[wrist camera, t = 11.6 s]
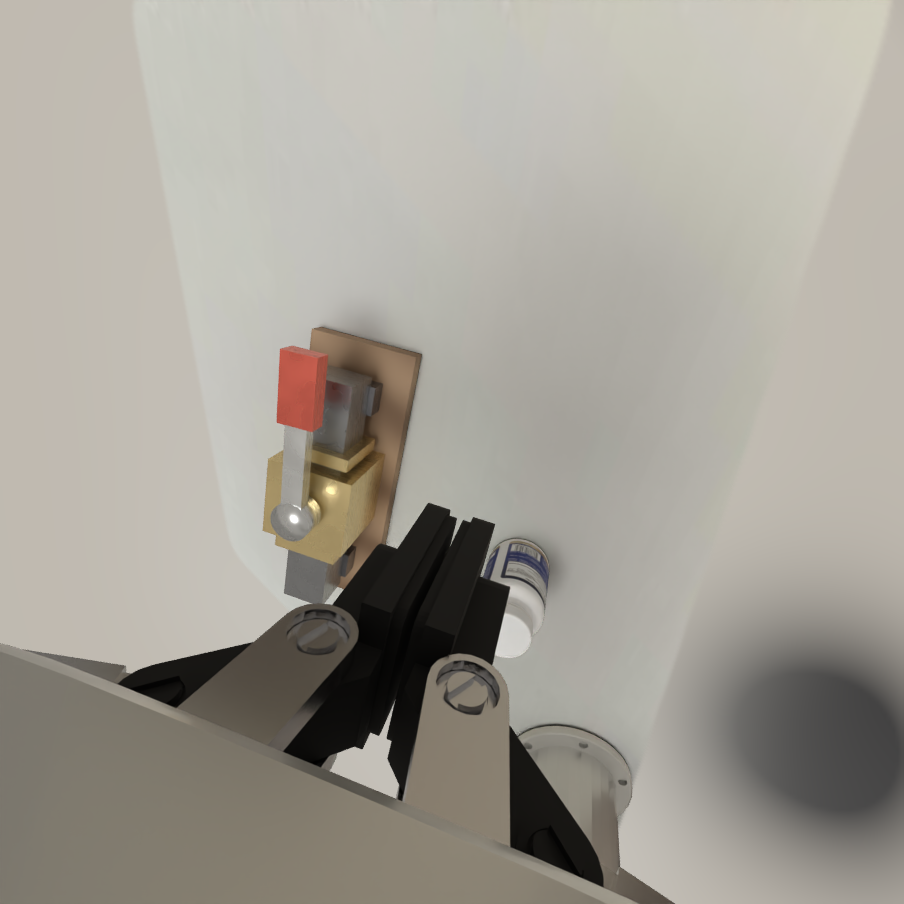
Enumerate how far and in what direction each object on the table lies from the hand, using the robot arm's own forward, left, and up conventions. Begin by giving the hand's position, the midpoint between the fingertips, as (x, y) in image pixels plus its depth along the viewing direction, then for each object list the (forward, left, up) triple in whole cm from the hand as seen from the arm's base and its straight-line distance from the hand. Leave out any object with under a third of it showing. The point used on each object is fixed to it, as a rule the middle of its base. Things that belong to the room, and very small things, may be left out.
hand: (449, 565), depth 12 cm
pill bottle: (-18, -3, -29) cm, 35 cm away
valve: (-14, +14, -28) cm, 34 cm away
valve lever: (-9, +14, -20) cm, 26 cm away
